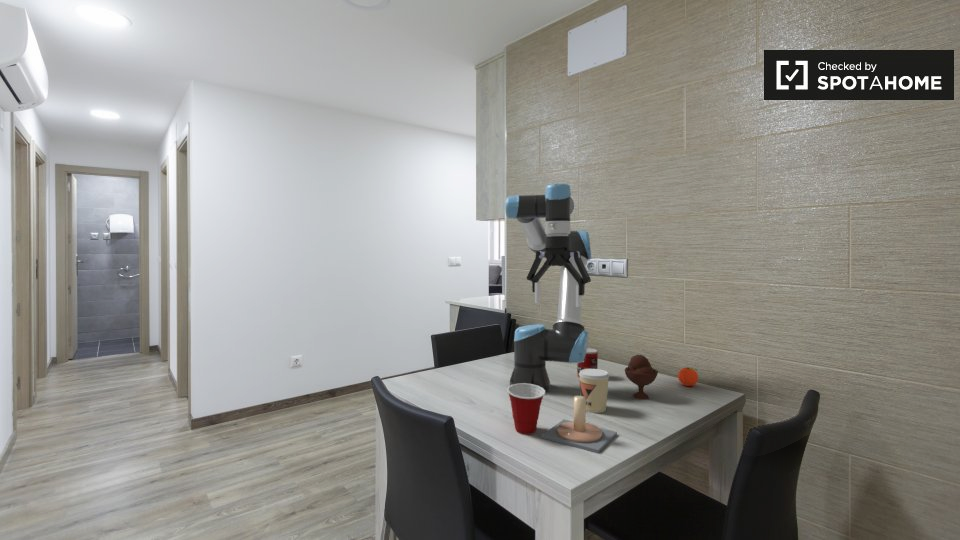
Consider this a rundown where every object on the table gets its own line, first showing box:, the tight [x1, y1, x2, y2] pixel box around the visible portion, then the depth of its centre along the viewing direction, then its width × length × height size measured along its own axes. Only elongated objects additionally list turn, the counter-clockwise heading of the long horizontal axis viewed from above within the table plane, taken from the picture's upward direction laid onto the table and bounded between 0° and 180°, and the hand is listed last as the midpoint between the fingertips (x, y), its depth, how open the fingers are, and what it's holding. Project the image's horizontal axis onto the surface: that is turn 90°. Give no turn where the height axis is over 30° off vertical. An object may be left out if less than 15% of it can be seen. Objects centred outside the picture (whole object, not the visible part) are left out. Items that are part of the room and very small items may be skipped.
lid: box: [557, 395, 602, 443], centre depth 123 cm, size 12×12×10 cm
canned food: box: [576, 347, 599, 379], centre depth 181 cm, size 8×8×11 cm
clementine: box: [677, 366, 699, 387], centre depth 169 cm, size 8×7×7 cm
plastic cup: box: [506, 383, 546, 435], centre depth 127 cm, size 11×11×12 cm
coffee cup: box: [579, 368, 610, 414], centre depth 144 cm, size 9×9×12 cm
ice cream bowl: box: [624, 354, 659, 400], centre depth 156 cm, size 11×11×15 cm
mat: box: [541, 419, 618, 454], centre depth 123 cm, size 16×14×1 cm
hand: (557, 304), depth 138 cm, fingers open, 13 cm apart
